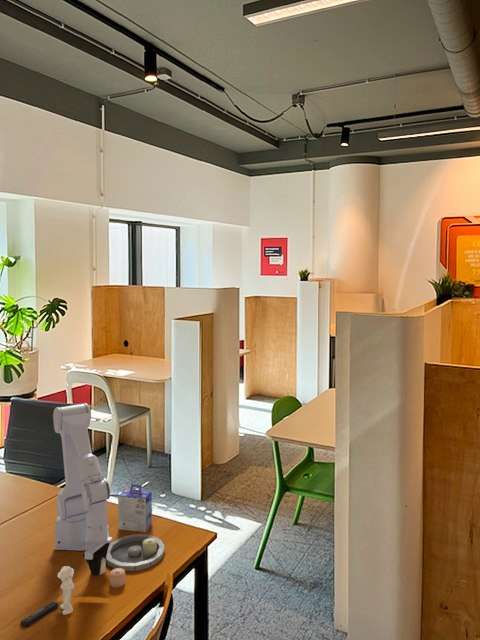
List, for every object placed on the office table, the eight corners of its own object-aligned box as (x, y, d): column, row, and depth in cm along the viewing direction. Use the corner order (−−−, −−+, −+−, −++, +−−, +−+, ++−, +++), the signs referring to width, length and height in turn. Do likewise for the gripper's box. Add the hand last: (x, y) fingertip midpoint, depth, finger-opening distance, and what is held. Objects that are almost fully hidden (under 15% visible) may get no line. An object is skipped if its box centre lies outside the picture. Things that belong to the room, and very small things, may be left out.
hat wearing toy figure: (78, 617, 130) (76, 571, 129) (61, 622, 128) (59, 576, 127) (72, 596, 138) (70, 553, 137) (56, 600, 136) (54, 557, 135)
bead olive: (141, 558, 154) (141, 545, 154) (144, 550, 158) (144, 537, 158) (155, 558, 154) (154, 545, 153) (158, 551, 158) (157, 538, 157)
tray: (97, 573, 148) (97, 564, 148) (115, 540, 165) (115, 533, 165) (157, 575, 147) (156, 567, 147) (169, 542, 164) (169, 535, 164)
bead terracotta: (108, 590, 141) (107, 576, 140) (112, 581, 145) (112, 567, 144) (122, 591, 140) (122, 577, 140) (127, 582, 144) (126, 568, 144)
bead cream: (89, 578, 146) (88, 564, 146) (93, 569, 150) (93, 556, 150) (103, 578, 146) (102, 565, 145) (107, 570, 150) (107, 556, 149)
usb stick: (53, 604, 136) (52, 598, 135) (59, 608, 134) (59, 602, 134) (19, 625, 128) (19, 619, 128) (25, 629, 126) (25, 623, 126)
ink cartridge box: (153, 526, 174) (152, 484, 172) (147, 535, 169) (146, 491, 167) (125, 523, 176) (124, 482, 174) (118, 532, 171) (116, 489, 169)
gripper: (102, 537, 139) (104, 585, 140) (118, 511, 153) (119, 555, 155) (76, 536, 139) (78, 584, 141) (94, 510, 154) (96, 554, 155)
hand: (98, 569), depth 148 cm, fingers closed on bead cream, 4 cm apart
